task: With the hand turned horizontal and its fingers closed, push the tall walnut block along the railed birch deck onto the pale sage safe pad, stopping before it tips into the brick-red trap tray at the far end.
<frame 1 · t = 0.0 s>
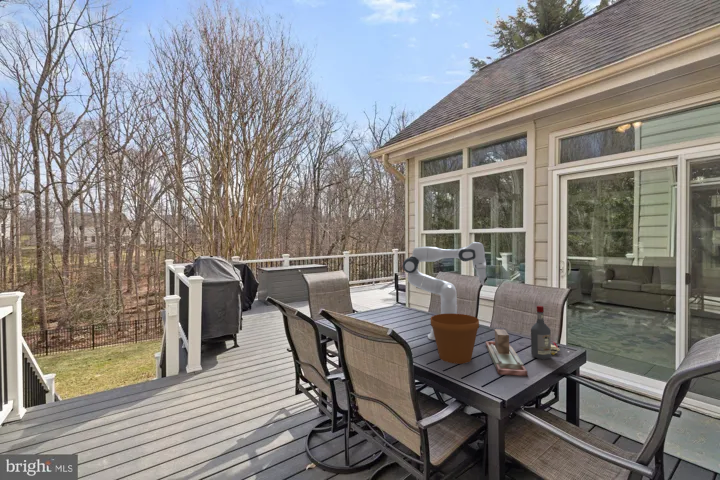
hand: (482, 284, 234), 39 cm above the table, tool pointing down, fingers open, 8 cm apart
liquor: (541, 356, 199), on the table
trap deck: (504, 359, 196), on the table
flowerpot: (455, 358, 200), on the table
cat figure: (547, 349, 211), on the table
walnut block: (502, 350, 203), point 3 cm above the table, touching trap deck
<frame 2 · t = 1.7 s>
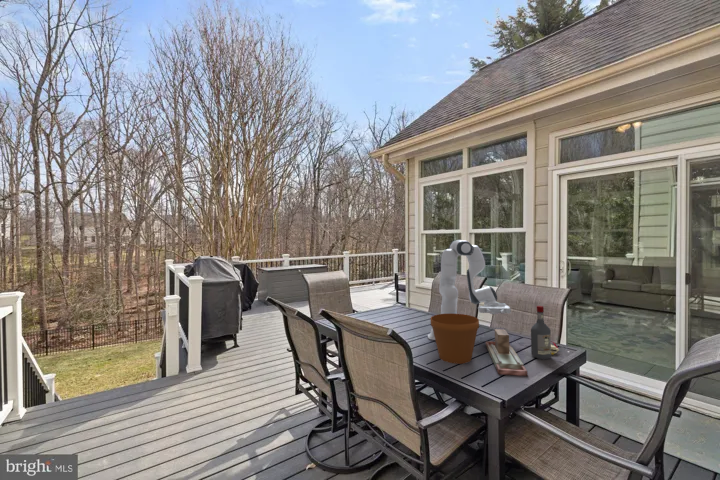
hand: (496, 312, 220), 22 cm above the table, tool horizontal, fingers open, 6 cm apart
nothing on the table moved.
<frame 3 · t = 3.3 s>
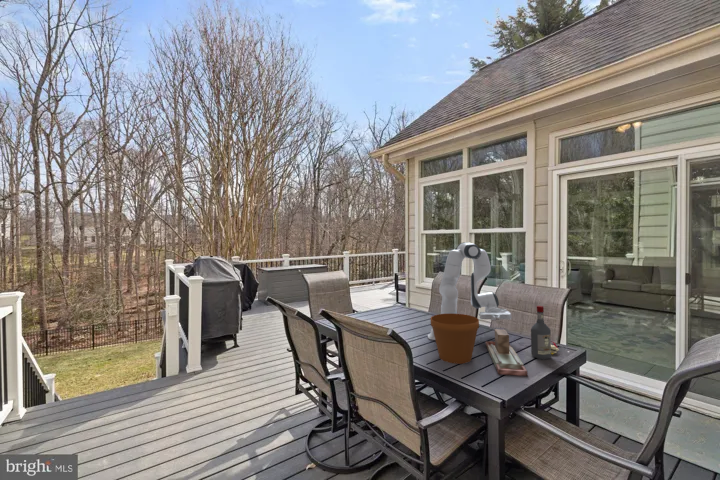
hand: (496, 318, 220), 18 cm above the table, tool horizontal, fingers closed
nothing on the table moved.
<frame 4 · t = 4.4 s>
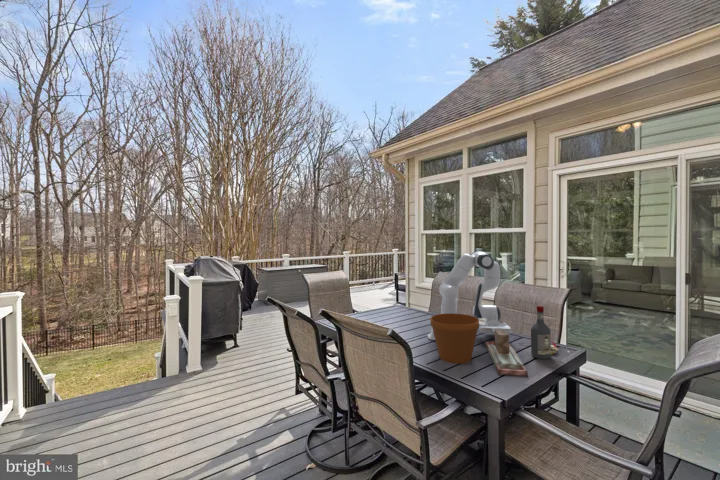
hand: (496, 332, 220), 9 cm above the table, tool horizontal, fingers closed
nothing on the table moved.
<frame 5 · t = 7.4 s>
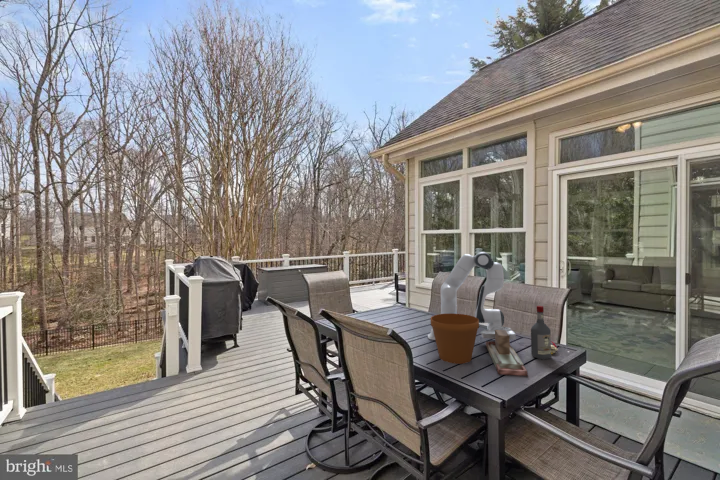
hand: (500, 338, 207), 9 cm above the table, tool horizontal, fingers closed, pressing on walnut block
walnut block: (502, 350, 202), point 3 cm above the table, touching gripper, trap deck
everything else where it was.
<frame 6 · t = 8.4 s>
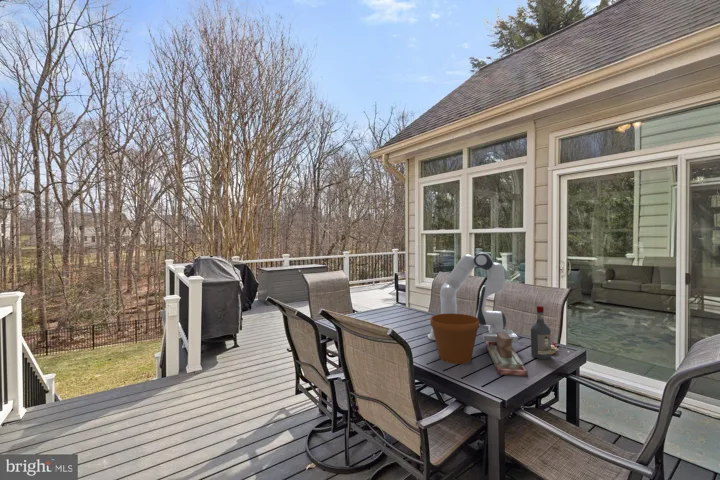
hand: (502, 341, 202), 9 cm above the table, tool horizontal, fingers closed, pressing on walnut block
walnut block: (504, 354, 196), point 3 cm above the table, touching gripper, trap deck
everything else where it was.
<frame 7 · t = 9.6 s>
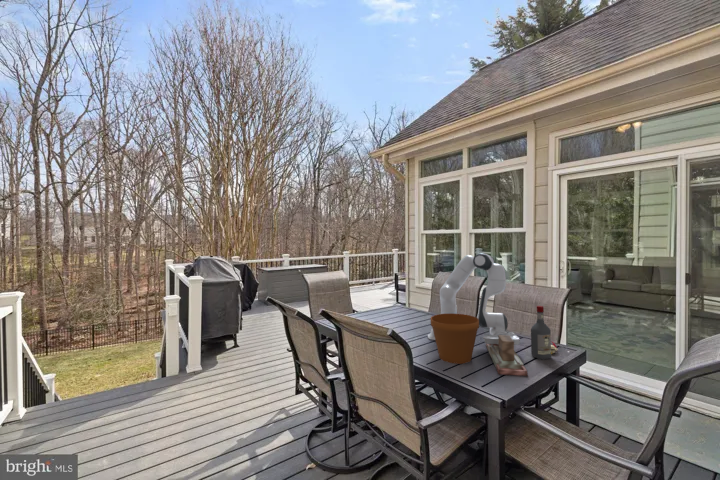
hand: (504, 344, 197), 9 cm above the table, tool horizontal, fingers closed
walnut block: (506, 357, 191), point 3 cm above the table, touching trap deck
everything else where it was.
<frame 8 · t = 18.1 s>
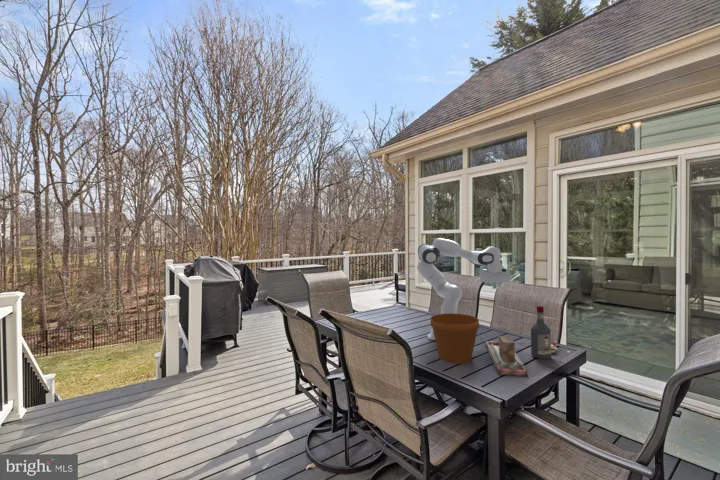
hand: (494, 288, 236), 35 cm above the table, tool pointing down, fingers closed
walnut block: (506, 358, 189), point 3 cm above the table, touching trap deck
at the end: walnut block inside the target area (0.3 cm from its centre), point 3.0 cm above the table; walnut block tilted 0°; walnut block moved 13.9 cm from its start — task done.
